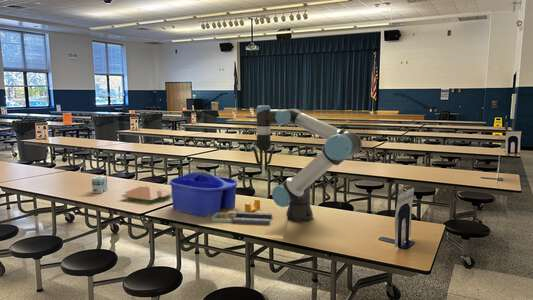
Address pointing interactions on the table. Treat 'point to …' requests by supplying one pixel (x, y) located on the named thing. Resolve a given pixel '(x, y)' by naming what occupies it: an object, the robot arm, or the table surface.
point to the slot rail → (252, 218)
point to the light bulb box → (99, 184)
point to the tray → (219, 218)
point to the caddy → (202, 193)
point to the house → (147, 194)
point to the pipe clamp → (255, 206)
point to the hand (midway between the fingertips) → (263, 176)
